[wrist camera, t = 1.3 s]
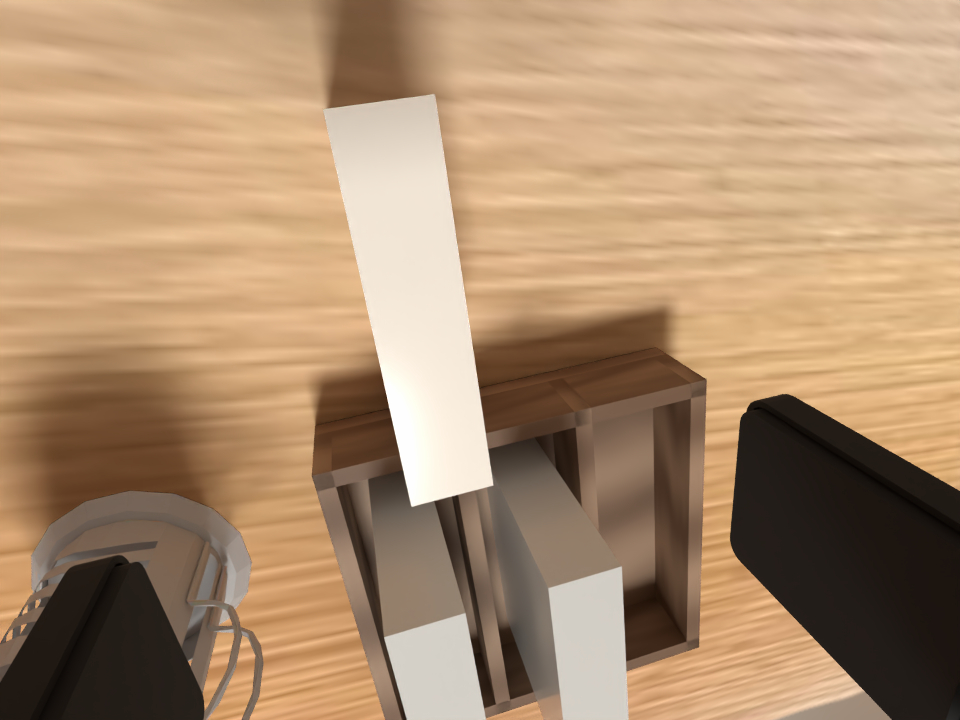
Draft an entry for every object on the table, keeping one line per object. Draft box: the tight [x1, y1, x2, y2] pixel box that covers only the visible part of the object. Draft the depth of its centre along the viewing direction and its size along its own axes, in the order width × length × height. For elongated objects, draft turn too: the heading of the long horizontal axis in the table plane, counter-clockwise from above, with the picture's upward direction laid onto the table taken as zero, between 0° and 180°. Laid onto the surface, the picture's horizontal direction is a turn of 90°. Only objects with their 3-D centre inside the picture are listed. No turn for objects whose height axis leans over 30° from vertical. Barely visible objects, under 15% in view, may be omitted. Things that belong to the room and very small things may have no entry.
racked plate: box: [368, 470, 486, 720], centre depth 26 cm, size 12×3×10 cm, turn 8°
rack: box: [312, 348, 707, 720], centre depth 30 cm, size 18×18×4 cm
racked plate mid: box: [487, 438, 628, 720], centre depth 27 cm, size 12×3×10 cm, turn 8°
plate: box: [323, 94, 493, 507], centre depth 21 cm, size 12×3×10 cm, turn 8°
